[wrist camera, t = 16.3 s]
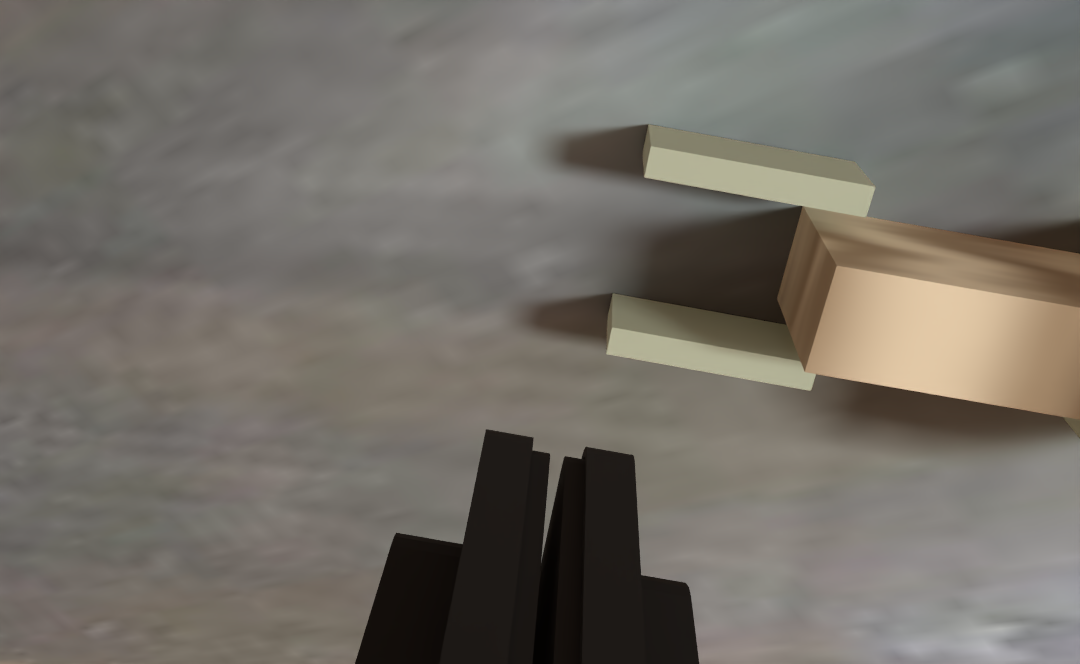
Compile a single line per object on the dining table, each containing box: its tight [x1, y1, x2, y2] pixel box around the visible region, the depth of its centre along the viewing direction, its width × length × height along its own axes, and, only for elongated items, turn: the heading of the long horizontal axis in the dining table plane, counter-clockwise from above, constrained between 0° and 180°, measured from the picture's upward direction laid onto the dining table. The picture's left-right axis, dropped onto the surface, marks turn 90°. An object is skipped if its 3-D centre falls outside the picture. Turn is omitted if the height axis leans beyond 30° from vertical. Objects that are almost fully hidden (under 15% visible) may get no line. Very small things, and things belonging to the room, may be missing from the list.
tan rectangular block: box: [777, 206, 1080, 420], centre depth 32 cm, size 14×4×6 cm, turn 81°
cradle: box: [606, 124, 875, 391], centre depth 34 cm, size 7×7×3 cm
